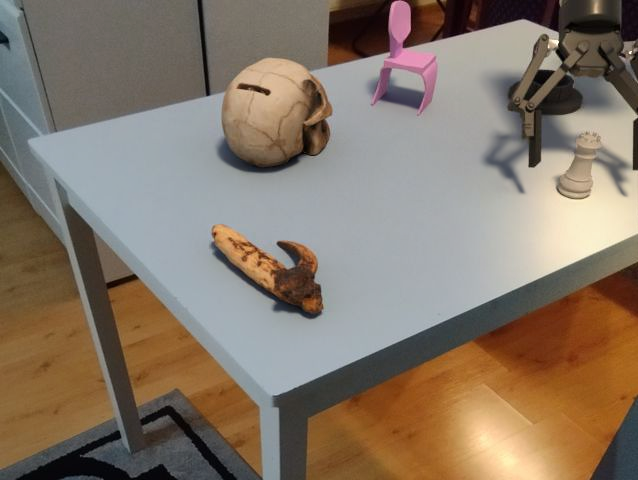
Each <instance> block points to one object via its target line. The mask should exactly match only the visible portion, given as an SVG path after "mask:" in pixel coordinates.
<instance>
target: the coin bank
mask: <svg viewBox="0 0 638 480" xmlns="http://www.w3.org/2000/svg"><path fill="white" fill-rule="evenodd" d="M333 110H334V109H333V106H332V104H331V102H330V101H329V99H328V94H327V92H326V89H325V88H324V86H323V84H322V82H321V81H320V80H319V78H318V77H317V76H315V75H314V74H312V73H311V72H310V71H309V70H308V69H307V68H306V67H305V66H304V65H302V64H300V63H298V62H296V61H293V60H290V59H286V58H278V57H265V58H263V59H260V60H259V61H257V62H255V63H253V64H251V65H248V66H246V67H245V68H243V70H241V71H240V72H239V73H238V74H237V75H236V76H235V77H234V78H233V79H232V81H231V82H230V83H229V85H228V86H227V88H226V90H225V93H224V96H223V99H222V103H221V116H220V117H221V126H222V132H223V135H224V138H225V140H226V142H227V144H228V147H229V148H230V150H231V151H233V153H234V154H235V155H236V156H237V157H238V158H240V159H241V160H243V161H245V162H246V163H247V164H248V165H255V166H257V167H259V168H266V167H275V166H281V165H285V164H286V163H287V162H289V160H290V159H291V158H293V157H295V156H296V155H299V154H301V153H302V152H303V153H305V154H307V155H310V156H315V155H318V154H319V153H320V152H321V151H322V149H324V148H325V147H326V145H327V144H328V141H329V140H330V136H331V129H330V125H329V123H328V121H327V119H328V118H329V117H332V116H333Z"/></svg>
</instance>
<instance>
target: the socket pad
mask: <svg viewBox="0 0 638 480" xmlns="http://www.w3.org/2000/svg"><path fill="white" fill-rule="evenodd" d="M555 71H556V70H554V69H540V68H539V70H538V72H537V74H536V75H535V77H534V79H533V81H532V83H531V85H530V87H529V89H528V91H527V93H526V94H525V96H524V98H523V99H524V100H527V101H529V100H530V99H531V98H532V97H533V96H534V95H535V93H536V92H537V91H538V90H539V89H540V88H541V87H542V86H543V85H544V83H545V82H546V81H547V80H548V79H549V78H550V77H551V76H552V74H553V73H554V72H555ZM520 81H521V80H518V81H516V82H514V83H512V84H511V85H510V87H509V89H508V94H507V97H508V100H509V101H510V100H511V98H512V96H513V94H514V92H515V90H516V88H517V86H518V85H519V83H520ZM574 85H575V80H574V78H573V77H572V76H571V75H569V74H568V73H566V75H565V76H564V77H563V78H562V79H561V80H560V81H559V82H558V83H557V85H556V86H555V87H554V88H553V89H552V90H551V91H550V92H549V94H548V95H547V96H546V97H545V98H544V99H543V100H542V101H541V102H540V104H539V105H538V106H537V107H536V108H535V111H536V110H542V115H548V116H550V115H551V116H557V115H560V116H561V115H569V114H572V113H575V112H577V111H579V110H580V108H581V107H582V104H583V102H584V95H583V94H582V93H581V91H579V90H578V89H577V88H575V87H574Z"/></svg>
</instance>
